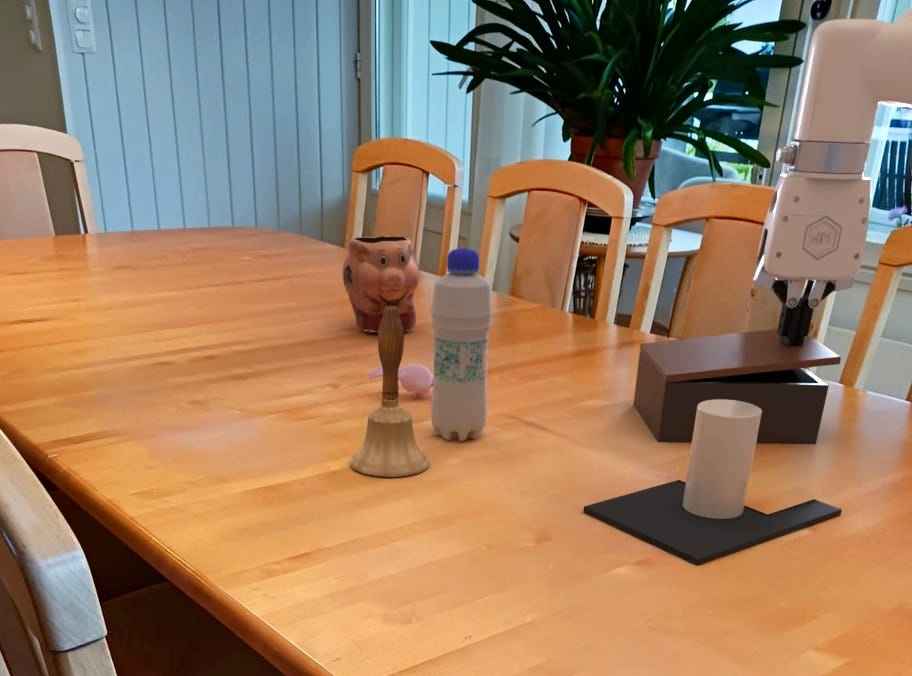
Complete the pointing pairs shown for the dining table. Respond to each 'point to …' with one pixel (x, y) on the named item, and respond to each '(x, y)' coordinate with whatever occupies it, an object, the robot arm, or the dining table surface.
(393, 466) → the hand bell
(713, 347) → the open box lid
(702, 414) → the tall white cylinder
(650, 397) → the hinged jewelry box
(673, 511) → the mat
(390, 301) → the decorative planter
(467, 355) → the bottle
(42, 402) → the dining table surface
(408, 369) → the rabbit figure
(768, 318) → the food model
